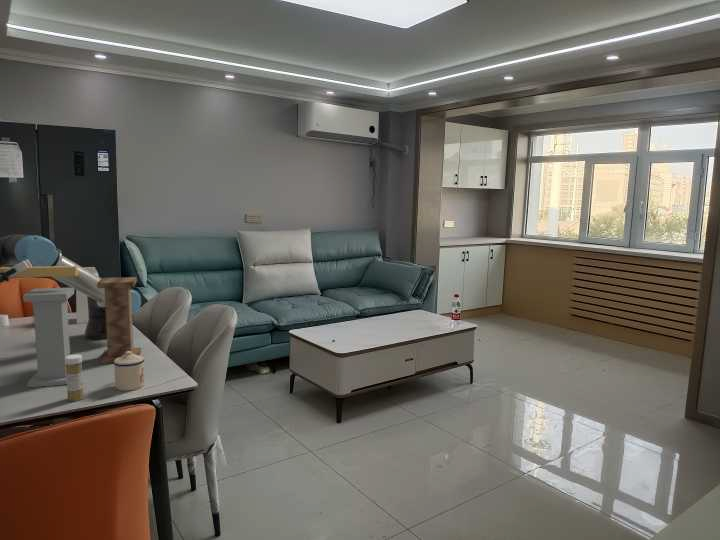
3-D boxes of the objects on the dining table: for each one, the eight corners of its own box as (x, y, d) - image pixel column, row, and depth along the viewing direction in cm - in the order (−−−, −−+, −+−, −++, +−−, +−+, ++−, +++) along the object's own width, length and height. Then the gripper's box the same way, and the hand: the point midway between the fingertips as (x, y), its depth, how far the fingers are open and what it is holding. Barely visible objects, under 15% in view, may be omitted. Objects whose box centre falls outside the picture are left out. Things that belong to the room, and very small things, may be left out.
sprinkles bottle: (72, 395, 161) (70, 353, 159) (87, 396, 161) (84, 354, 159) (64, 401, 157) (61, 358, 155) (78, 402, 157) (76, 358, 155)
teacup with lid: (147, 388, 169) (146, 353, 167) (116, 393, 164) (115, 357, 162) (140, 377, 179) (139, 344, 177) (111, 381, 174) (110, 347, 172)
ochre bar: (-1, 277, 167) (-2, 268, 166) (2, 276, 170) (1, 267, 169) (75, 275, 173) (75, 267, 173) (77, 274, 176) (77, 265, 176)
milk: (76, 323, 249) (73, 269, 245) (77, 318, 259) (73, 266, 255) (104, 321, 255) (101, 268, 251) (103, 316, 265) (101, 265, 261)
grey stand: (27, 387, 167) (20, 295, 163) (38, 374, 179) (32, 288, 175) (73, 384, 171) (67, 294, 167) (81, 371, 183) (76, 287, 179)
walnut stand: (99, 364, 191) (95, 283, 187) (105, 353, 204) (101, 277, 199) (138, 361, 195) (134, 282, 191) (141, 351, 208) (138, 276, 203)
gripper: (-25, 306, 174) (41, 270, 179) (-47, 316, 159) (27, 276, 163) (-40, 287, 172) (28, 251, 177) (-63, 296, 157) (12, 256, 161)
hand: (27, 263), depth 170 cm, fingers closed on ochre bar, 3 cm apart
